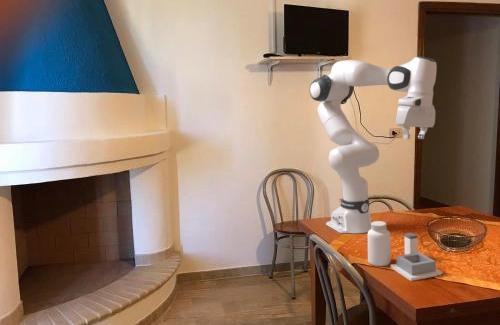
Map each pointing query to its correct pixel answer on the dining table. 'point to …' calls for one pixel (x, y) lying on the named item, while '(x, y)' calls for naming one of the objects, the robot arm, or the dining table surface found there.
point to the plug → (410, 243)
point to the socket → (416, 266)
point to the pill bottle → (379, 244)
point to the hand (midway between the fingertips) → (413, 138)
